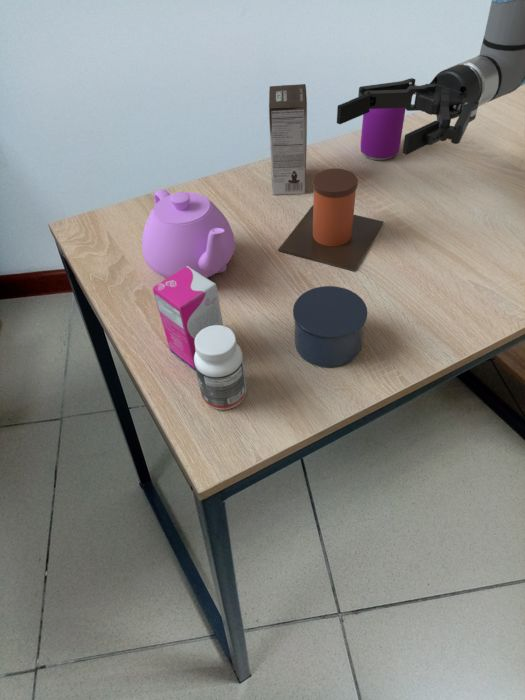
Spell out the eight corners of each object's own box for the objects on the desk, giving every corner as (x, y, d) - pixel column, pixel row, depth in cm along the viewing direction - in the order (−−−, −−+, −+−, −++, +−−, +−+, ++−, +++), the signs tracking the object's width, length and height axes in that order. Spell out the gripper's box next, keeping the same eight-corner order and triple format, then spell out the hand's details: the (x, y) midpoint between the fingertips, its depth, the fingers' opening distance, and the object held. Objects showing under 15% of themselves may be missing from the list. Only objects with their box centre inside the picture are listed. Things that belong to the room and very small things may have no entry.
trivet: (383, 223, 90) (383, 221, 89) (354, 271, 81) (354, 269, 81) (312, 206, 94) (312, 205, 94) (278, 251, 86) (278, 249, 86)
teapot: (268, 282, 81) (265, 211, 72) (188, 322, 76) (173, 251, 66) (201, 223, 92) (190, 156, 83) (127, 255, 87) (107, 187, 78)
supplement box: (200, 327, 75) (188, 263, 66) (228, 349, 72) (219, 284, 63) (167, 350, 72) (150, 286, 64) (195, 373, 69) (181, 308, 61)
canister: (358, 228, 88) (364, 173, 81) (344, 251, 84) (348, 195, 77) (321, 219, 91) (323, 165, 83) (304, 241, 87) (305, 186, 79)
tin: (372, 330, 73) (377, 297, 68) (348, 378, 67) (351, 346, 63) (310, 310, 76) (310, 278, 72) (281, 355, 71) (280, 323, 66)
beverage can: (390, 165, 102) (399, 102, 94) (353, 157, 105) (358, 95, 96) (404, 148, 107) (414, 86, 98) (368, 140, 110) (374, 79, 101)
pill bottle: (204, 375, 69) (193, 321, 61) (247, 375, 68) (241, 320, 61) (199, 411, 65) (186, 358, 58) (245, 411, 65) (238, 357, 57)
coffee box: (271, 170, 103) (268, 84, 92) (304, 169, 103) (305, 82, 91) (271, 195, 97) (268, 107, 85) (306, 194, 97) (308, 105, 85)
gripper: (522, 136, 83) (432, 184, 74) (401, 90, 97) (313, 127, 88) (538, 86, 77) (443, 132, 69) (407, 45, 91) (314, 79, 83)
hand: (370, 129), depth 79 cm, fingers open, 13 cm apart
